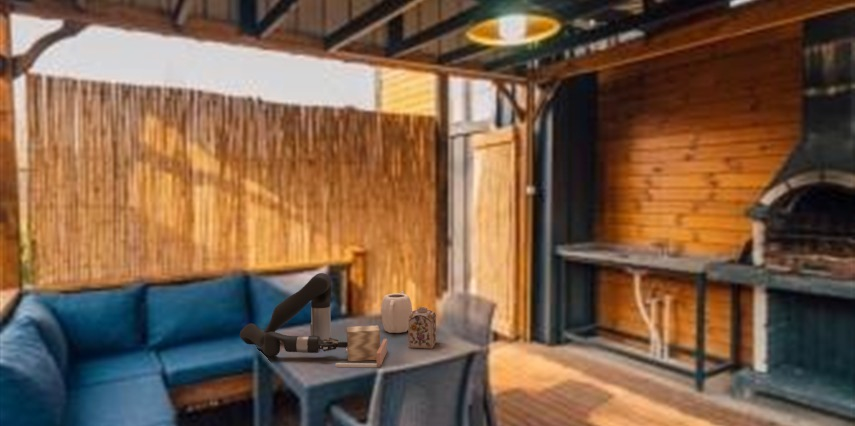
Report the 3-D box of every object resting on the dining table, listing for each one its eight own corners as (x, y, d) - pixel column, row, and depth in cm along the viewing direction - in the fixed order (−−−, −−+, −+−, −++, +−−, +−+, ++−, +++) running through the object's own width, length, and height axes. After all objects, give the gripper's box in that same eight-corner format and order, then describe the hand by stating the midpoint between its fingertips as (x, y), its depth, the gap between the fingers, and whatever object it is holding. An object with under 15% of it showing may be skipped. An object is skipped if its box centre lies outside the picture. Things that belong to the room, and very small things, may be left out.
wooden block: (348, 361, 267) (347, 331, 267) (347, 355, 276) (346, 326, 275) (380, 359, 270) (379, 330, 269) (378, 353, 279) (377, 325, 278)
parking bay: (335, 366, 260) (335, 352, 260) (346, 351, 283) (346, 338, 282) (380, 367, 259) (379, 353, 258) (387, 351, 282) (387, 338, 281)
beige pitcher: (417, 324, 331) (417, 290, 330) (405, 337, 305) (405, 300, 304) (389, 323, 335) (389, 289, 334) (375, 336, 309) (375, 299, 308)
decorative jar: (432, 349, 285) (432, 310, 284) (408, 348, 287) (407, 310, 286) (436, 342, 297) (436, 305, 296) (413, 341, 299) (412, 304, 298)
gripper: (312, 348, 279) (350, 348, 277) (304, 356, 265) (344, 357, 264) (312, 332, 278) (350, 332, 277) (304, 339, 265) (344, 340, 264)
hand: (347, 344), depth 271 cm, fingers closed
